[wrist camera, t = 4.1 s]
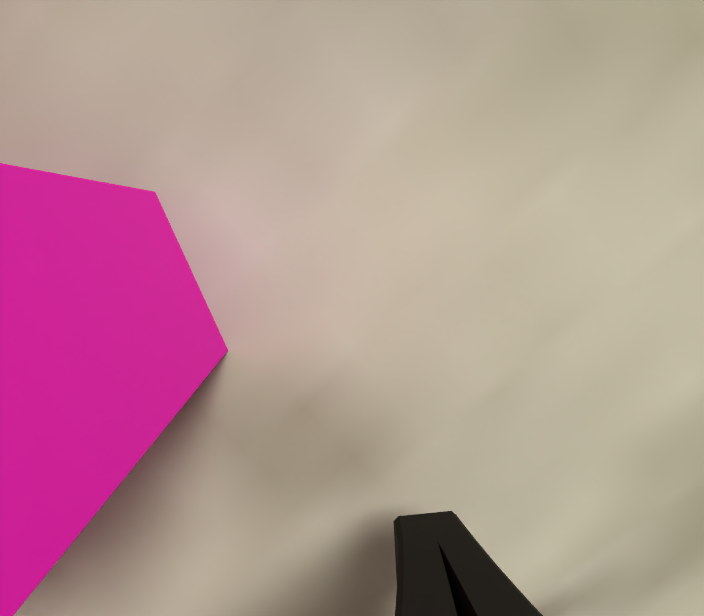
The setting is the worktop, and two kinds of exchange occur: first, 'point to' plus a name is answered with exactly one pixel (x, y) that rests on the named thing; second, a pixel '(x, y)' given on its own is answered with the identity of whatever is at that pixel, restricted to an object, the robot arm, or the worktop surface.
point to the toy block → (85, 355)
